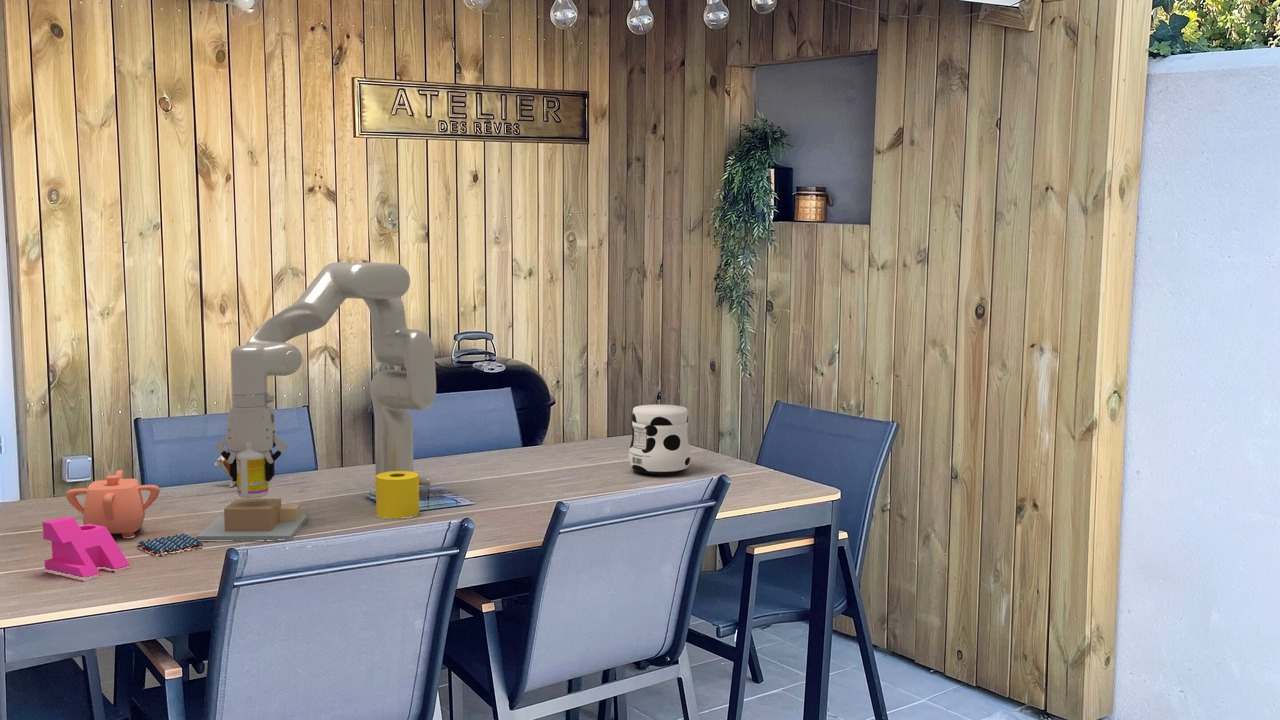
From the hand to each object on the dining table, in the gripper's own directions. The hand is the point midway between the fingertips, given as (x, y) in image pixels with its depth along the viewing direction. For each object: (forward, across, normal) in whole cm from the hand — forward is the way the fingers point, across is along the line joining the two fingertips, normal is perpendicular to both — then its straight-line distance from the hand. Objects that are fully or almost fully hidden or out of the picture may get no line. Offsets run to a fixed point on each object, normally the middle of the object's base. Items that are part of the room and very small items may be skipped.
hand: (252, 479), depth 271 cm
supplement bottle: (+4, 0, 0) cm, 4 cm away
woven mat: (+12, +14, +14) cm, 23 cm away
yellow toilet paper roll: (+12, -30, -15) cm, 36 cm away
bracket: (+12, +25, +30) cm, 41 cm away
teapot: (+12, +30, +1) cm, 32 cm away
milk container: (+12, -96, -62) cm, 115 cm away
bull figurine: (+12, +15, -48) cm, 51 cm away
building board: (+12, 0, 0) cm, 12 cm away
